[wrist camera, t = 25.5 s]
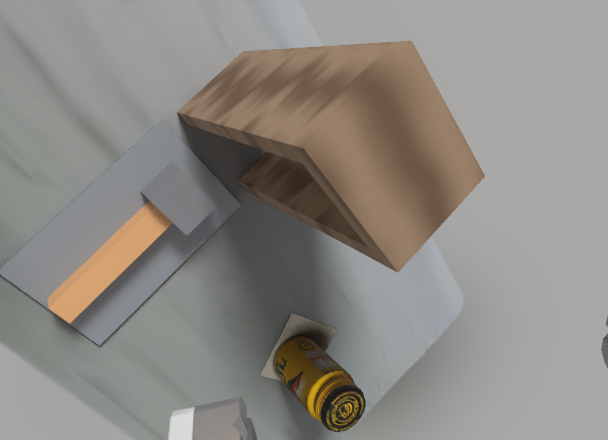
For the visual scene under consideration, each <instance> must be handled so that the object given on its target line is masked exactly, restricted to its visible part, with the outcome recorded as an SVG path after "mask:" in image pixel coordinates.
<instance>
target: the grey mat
mask: <svg viewBox="0 0 608 440" xmlns="http://www.w3.org/2000/svg"><path fill="white" fill-rule="evenodd" d="M170 162H171V163H173V164H174V165H176V166H177V167H179V168H181V169H182V170H183V171H184V172H185V173H186V174H187V175H188V176H189V177H190V178H191V179H192V180H193V182H194V183H195V184H196V185H197V186H198V187H199V188H200V189H201V190H202V191H203V192H204V193H205V194H206V195H207V196H208V197H209V198H210V199H211V200H212V201H213V202H214V204H215V205H216V206H217V207H216V208H215V209H214V210H213V211H212V212H211V213H210V214H209V215H208V216H207V217H206V218H205V219H204V220H203V221H202V222H201V223H200V224H199V225H197V226H196V227H195V228H194V229H193V230H192V231H191V232H190V233H189V234H188V235H187V236H186V235H185V234H184V233H183V232H182V231H181V230H180V229H179V228H178V227H177V226H176V225H175V224H174V223H172V224H171V225H170V226H169V227H168V228H167V229H166V230H165V231H164V232H163V233H162V234H161V235H160V236H159V237H158V238H157V239H156V240H155V241H154V242H153V243H152V244H151V245H150V246H149V247H148V248H147V249H146V250H145V251H144V252H143V253H142V254H141V255H140V256H138V257H137V258H136V259H135V260H134V261H133V262H132V263H131V264H130V265H129V266H128V267H127V268H126V269H125V270H124V271H123V272H122V273H121V274H120V275H119V276H118V277H117V278H116V279H115V280H114V281H113V282H112V283H111V284H110V285H109V286H108V287H107V288H106V289H105V290H104V291H103V292H102V293H101V294H100V295H99V296H98V297H97V298H96V299H95V300H93V301H92V302H91V303H90V304H89V305H88V306H87V307H86V308H85V309H84V310H83V311H82V312H81V313H80V314H79V315H78V316H77V317H76V318H75V319H74V320H73V321H72V322H71V323H68V322H67V321H66V322H67V323H68V324H70V325H71V326H72V327H74V328H75V329H77V330H78V331H79V332H81V333H82V334H84V335H85V336H86V337H88V338H89V339H91V340H92V341H93V342H95V343H96V344H98V345H99V346H100V345H101V344H102V343H103V342H104V341H105V340H106V339H107V338H108V337H109V336H110V335H111V334H112V333H113V332H114V331H115V330H116V329H117V328H118V327H119V326H120V325H121V324H122V323H123V322H124V321H125V320H126V319H127V318H128V317H129V316H130V315H131V314H132V313H133V312H134V311H135V310H136V309H137V308H138V307H139V306H140V305H141V304H142V303H143V302H144V301H145V300H146V299H147V298H148V297H149V296H150V295H151V294H152V293H153V292H154V291H155V290H156V289H157V288H158V287H159V286H160V285H161V284H162V283H163V282H164V281H165V280H166V279H167V278H168V277H169V276H170V275H171V274H172V273H173V272H174V271H175V270H176V269H177V268H178V267H179V266H180V265H181V264H182V263H183V262H184V261H185V260H186V259H187V258H188V257H189V256H190V255H192V254H193V253H194V252H195V251H196V250H197V249H198V248H199V247H200V246H201V245H202V244H203V243H204V242H205V241H206V240H207V239H208V238H209V237H210V236H211V235H212V234H213V233H214V232H215V231H216V230H217V229H218V228H219V227H220V226H221V225H222V224H223V223H224V222H225V221H226V220H227V219H228V218H229V217H230V216H231V215H232V214H233V213H234V212H235V211H236V210H237V209H238V208H239V207H240V206H241V204H240V203H239V202H238V201H237V200H236V199H235V198H234V197H233V195H232V194H231V193H230V192H229V191H228V190H227V189H226V188H225V187H224V186H223V184H222V183H221V182H220V181H219V180H218V179H217V178H216V177H215V176H214V175H213V174H212V172H211V171H210V170H209V169H208V168H207V167H206V166H205V165H204V164H203V163H202V161H201V160H200V159H199V158H198V157H197V156H196V155H195V154H194V153H193V152H192V150H191V149H190V148H189V147H188V146H187V145H186V144H185V143H184V142H183V141H182V140H181V138H180V137H179V136H178V135H177V134H176V133H175V132H174V131H173V130H172V129H171V127H170V126H169V125H168V124H167V123H166V122H165V121H164V120H163V119H162V120H161V121H159V122H158V123H157V124H156V125H155V126H154V127H153V128H152V129H151V130H150V131H149V132H148V133H146V134H145V135H144V136H143V137H142V138H141V139H140V140H139V141H138V142H137V143H136V144H134V145H133V146H132V147H131V148H130V149H129V150H128V151H127V152H126V153H125V154H124V155H123V156H121V157H120V158H119V159H118V160H117V161H116V162H115V163H114V164H113V165H112V166H111V167H109V168H108V169H107V170H106V171H105V172H104V173H103V174H102V175H101V176H100V177H99V178H98V179H96V180H95V181H94V182H93V183H92V184H91V185H90V186H89V187H88V188H87V189H86V190H84V191H83V192H82V193H81V194H80V195H79V196H78V197H77V198H76V199H75V200H74V201H72V202H71V203H70V204H69V205H68V206H67V207H66V208H65V209H64V210H63V211H62V212H61V213H59V214H58V215H57V216H56V217H55V218H54V219H53V220H52V221H51V222H50V223H49V224H47V225H46V226H45V227H44V228H43V229H42V230H41V231H40V232H39V233H38V234H37V235H36V236H34V237H33V238H32V239H31V240H30V241H29V242H28V243H27V244H26V245H25V246H24V247H22V248H21V249H20V250H19V251H18V252H17V253H16V254H15V255H14V256H13V257H12V258H11V259H9V260H8V261H7V262H6V263H5V264H4V265H3V266H2V267H1V268H0V275H1V276H3V277H4V278H6V279H7V280H8V281H10V282H11V283H13V284H14V285H15V286H17V287H18V288H20V289H21V290H22V291H24V292H25V293H27V294H28V295H29V296H31V297H32V298H33V299H35V300H36V301H38V302H39V303H40V304H42V305H43V306H45V307H46V308H47V309H49V307H48V300H47V298H48V297H49V296H50V295H51V294H52V293H53V292H55V291H56V290H57V289H58V288H59V287H60V286H61V285H62V284H63V283H64V282H65V281H66V280H67V279H68V278H69V277H70V276H71V275H72V274H73V273H74V272H75V271H76V270H78V269H79V268H80V267H81V266H82V265H83V264H84V263H85V262H86V261H87V260H88V259H89V258H90V257H91V256H92V255H93V254H94V253H95V252H96V251H97V250H98V249H99V248H100V247H102V246H103V245H104V244H105V243H106V242H107V241H108V240H109V239H110V238H111V237H112V236H113V235H114V234H115V233H116V232H117V231H118V230H119V229H120V228H121V227H122V226H123V225H124V224H126V223H127V222H128V221H129V220H130V219H131V218H132V217H133V216H134V215H135V214H136V213H137V212H138V211H139V210H140V209H141V208H142V207H143V206H144V205H145V204H146V203H147V202H148V201H150V200H149V199H148V198H147V197H146V196H145V195H144V194H143V193H142V192H141V190H142V189H143V188H144V187H145V186H146V185H147V184H148V183H149V182H150V181H151V180H152V179H153V178H155V177H156V176H157V175H158V174H159V173H160V172H161V171H162V170H163V169H164V168H165V167H166V166H167V165H168V164H169V163H170ZM49 310H50V309H49ZM50 311H51V310H50ZM52 312H53V311H52ZM53 313H54V312H53ZM54 314H56V313H54ZM56 315H57V314H56ZM57 316H58V315H57ZM59 317H60V316H59ZM60 318H61V317H60ZM61 319H63V318H61ZM63 320H64V319H63ZM64 321H65V320H64Z"/></svg>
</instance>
